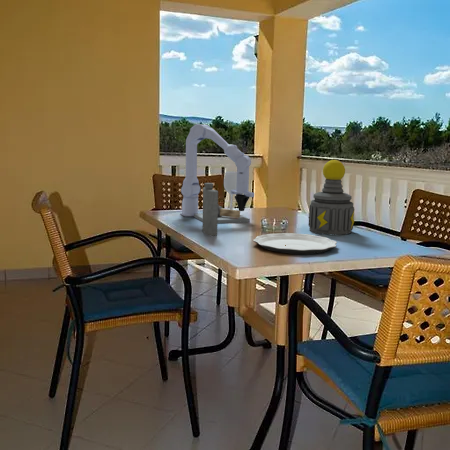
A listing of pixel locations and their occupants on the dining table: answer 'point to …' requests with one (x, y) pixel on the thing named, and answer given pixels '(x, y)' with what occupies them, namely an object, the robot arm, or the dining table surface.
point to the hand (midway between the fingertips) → (241, 210)
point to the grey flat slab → (224, 219)
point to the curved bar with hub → (228, 212)
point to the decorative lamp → (332, 204)
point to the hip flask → (210, 210)
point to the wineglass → (230, 183)
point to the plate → (295, 243)
